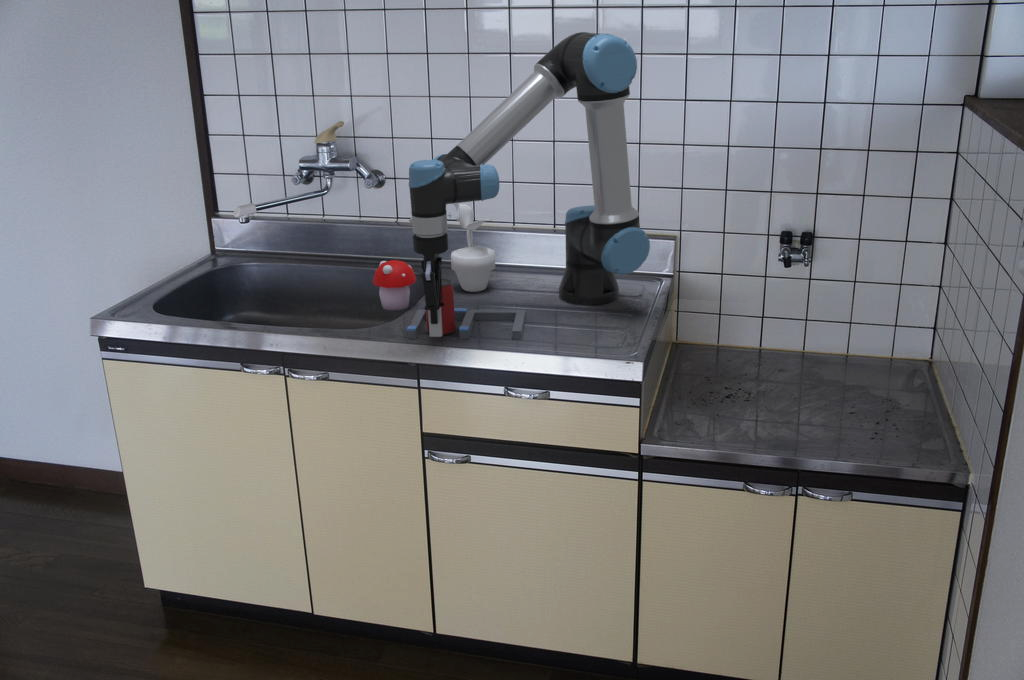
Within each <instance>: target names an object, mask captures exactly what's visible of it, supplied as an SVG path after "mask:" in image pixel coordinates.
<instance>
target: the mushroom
mask: <svg viewBox="0 0 1024 680" xmlns="http://www.w3.org/2000/svg"><path fill="white" fill-rule="evenodd" d="M416 281H417V277H416V275H415V271H414V269H413V267H412V266H411V265H410V264H407V262H405V261H401V260H396V259H391V260H389V261H387V260H382V261H380V263H379V266H378V267H377V268H376V269H375V271H374V275H373V280H372V284H373V285H374V286H376V287H379V292H378V295H379V298H380V303H381V307H382V309H383V310H387V311H401V310H404V309H407V308H408V307H409V304H410V295H411V290H410V286H411V285H414V283H415V282H416Z"/></svg>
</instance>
